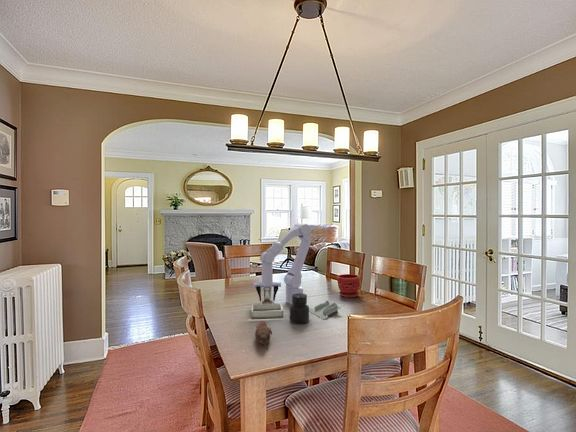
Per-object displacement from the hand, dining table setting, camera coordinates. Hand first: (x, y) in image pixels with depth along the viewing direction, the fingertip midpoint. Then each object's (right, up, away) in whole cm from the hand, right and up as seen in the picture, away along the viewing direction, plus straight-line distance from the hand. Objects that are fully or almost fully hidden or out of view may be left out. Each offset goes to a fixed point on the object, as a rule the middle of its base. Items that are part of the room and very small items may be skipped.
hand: (267, 300), depth 167 cm
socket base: (0, -3, 0) cm, 3 cm away
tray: (+1, -4, -12) cm, 12 cm away
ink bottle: (+16, -4, -21) cm, 27 cm away
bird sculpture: (+1, -4, -42) cm, 42 cm away
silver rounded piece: (0, -2, 0) cm, 2 cm away
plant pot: (+47, -3, +22) cm, 52 cm away
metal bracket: (+29, -4, -10) cm, 31 cm away
